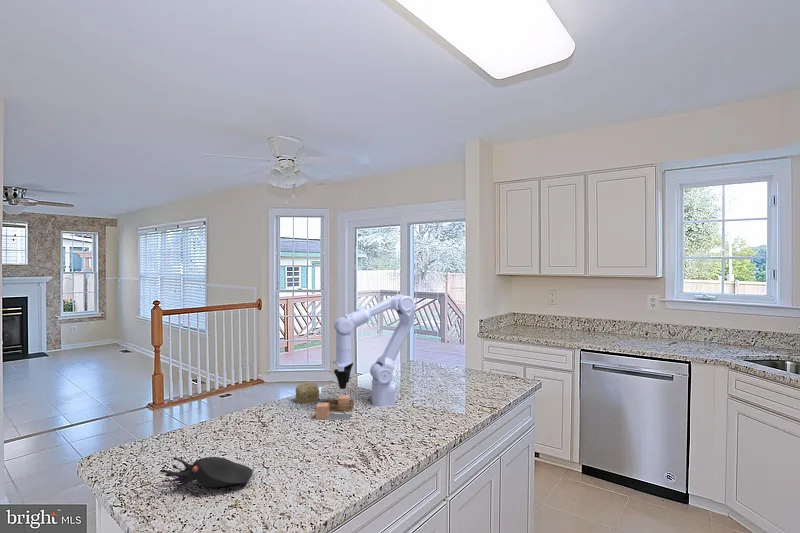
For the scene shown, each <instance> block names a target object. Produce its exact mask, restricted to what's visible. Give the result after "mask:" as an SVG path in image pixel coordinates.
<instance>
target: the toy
mask: <svg viewBox="0 0 800 533" xmlns="http://www.w3.org/2000/svg"><path fill="white" fill-rule="evenodd" d="M172 459H173V460H175V461H178V462H180V463H181V464H183V465H184V469H181V468H179V467H177V466H176V465H175V464H173V465H172V468H173V470H175V469H176V470H179V471H171V470H170V471H169V470H167V469H161V470H159V472H161V473H165V477H167V478H170V477H171V478H173V479H171V480H170V479H167V480H161V483H166V482H173V483H176V482H177V483H181V484H179V485H176V484H175V486H177V487H176V488H180V487H182V486H186V485H188V484H190V483H191V482H194V481H197V482H198V483H199V484H200V486H203V487H205V486H206V488H210V487H214V488H221V487H227V486H228V487H229V486H231V485H235V484H238V485H239V484H244V483H247V482H248V481H249V480H250V479H251V478H252V476H253V471H254V470H253V469H252V468H251V467H250V466H246V465H244V464H243V463H237V462H234V461H232V460H230V459H227V458H224V457H219V456H209V457H204V458H203V457H202V458H199V459H196V460H195V461H194V462H193V463H192V464H191V463H188V462H187V461H185V460H182V459H180V458H178V457H176V456H174V457H172Z"/></svg>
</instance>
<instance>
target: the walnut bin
mask: <svg viewBox="0 0 800 533" xmlns="http://www.w3.org/2000/svg"><path fill="white" fill-rule="evenodd" d="M323 403H329V413H331V412H339V413H340V412H344V413H345V412H352V411H353V408H354V405H355V399H354V398H350V405H338V398H335V399H331V398H330V399H329V398H328V399H324V401H323Z"/></svg>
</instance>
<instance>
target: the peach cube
mask: <svg viewBox="0 0 800 533" xmlns="http://www.w3.org/2000/svg"><path fill="white" fill-rule="evenodd" d="M337 399H338V405H350V399H351V395H350V394H339V396H338V397H337Z"/></svg>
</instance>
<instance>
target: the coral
mask: <svg viewBox="0 0 800 533" xmlns="http://www.w3.org/2000/svg"><path fill="white" fill-rule="evenodd" d="M319 397H320V389H319V387H318V384H317V383H316V382H313V381H311V380H310V381H305V382H301V383H300V384H298V385H296V387H295V401H296V402H297V403H300V404H310V403H311V404H312V403H315V402H317V401H318V400H319V399H320V398H319Z"/></svg>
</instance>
